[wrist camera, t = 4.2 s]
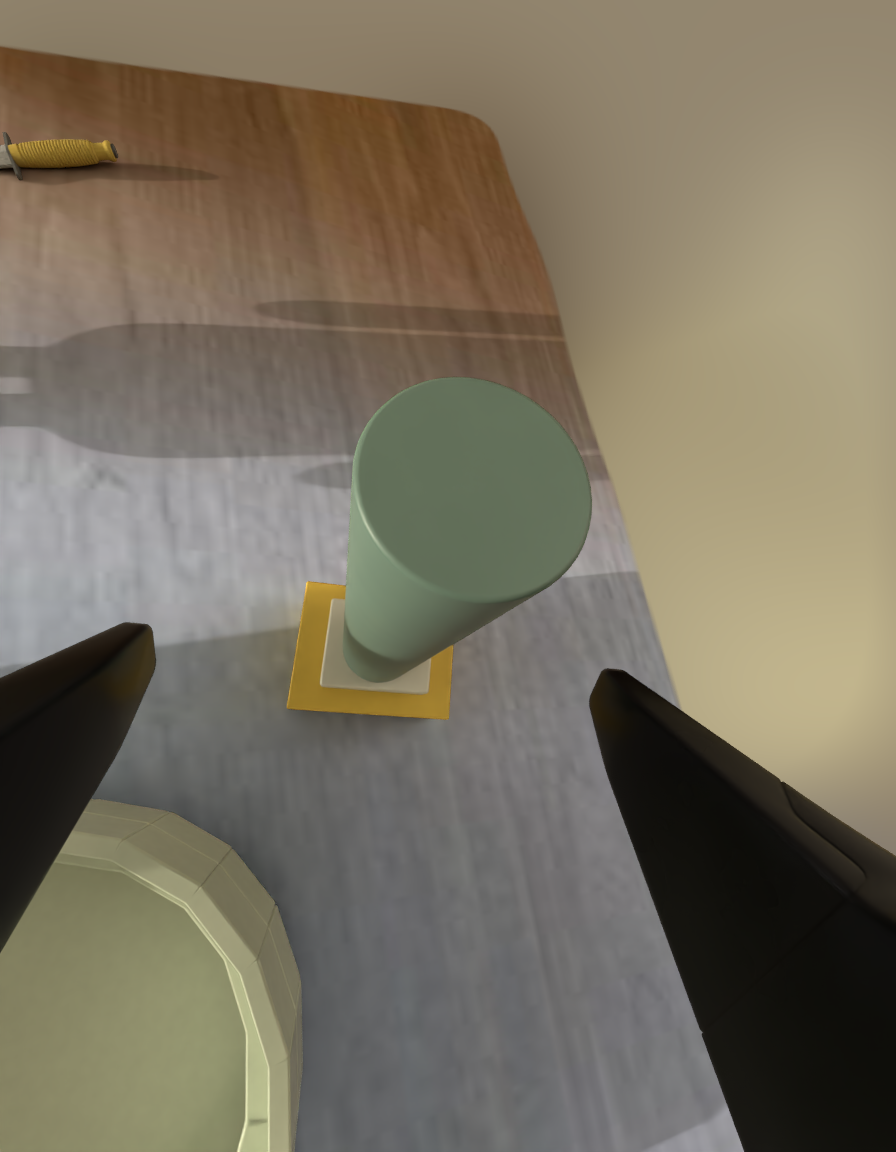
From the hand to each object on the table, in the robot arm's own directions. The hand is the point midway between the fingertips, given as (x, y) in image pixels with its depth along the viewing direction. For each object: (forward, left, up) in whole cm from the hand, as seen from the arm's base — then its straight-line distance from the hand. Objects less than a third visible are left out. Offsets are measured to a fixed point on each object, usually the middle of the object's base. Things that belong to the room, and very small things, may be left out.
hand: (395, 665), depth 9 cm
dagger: (+27, +7, -9) cm, 29 cm away
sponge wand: (+1, 0, -9) cm, 9 cm away
